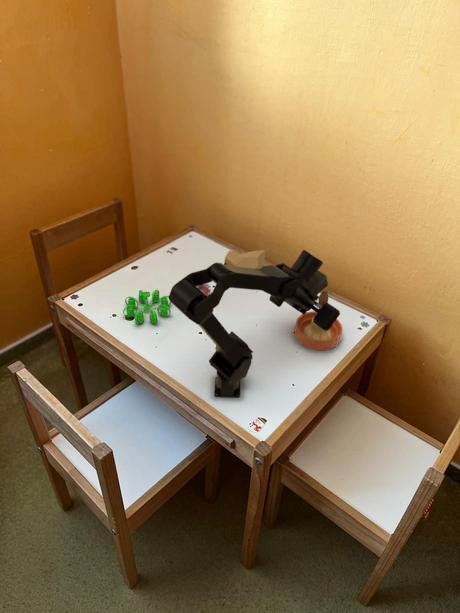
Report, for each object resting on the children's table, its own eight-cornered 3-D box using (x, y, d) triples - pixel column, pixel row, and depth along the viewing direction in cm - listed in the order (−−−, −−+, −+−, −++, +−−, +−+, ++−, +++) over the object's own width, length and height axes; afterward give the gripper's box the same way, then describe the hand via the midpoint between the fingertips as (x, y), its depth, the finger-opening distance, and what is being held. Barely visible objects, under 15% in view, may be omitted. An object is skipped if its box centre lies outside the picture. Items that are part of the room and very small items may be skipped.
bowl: (343, 352, 132) (345, 342, 129) (296, 350, 132) (298, 340, 129) (336, 321, 142) (338, 312, 140) (292, 319, 142) (294, 310, 140)
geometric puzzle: (219, 290, 149) (206, 269, 147) (207, 301, 144) (194, 279, 142) (204, 295, 154) (191, 274, 151) (192, 306, 149) (179, 285, 147)
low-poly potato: (272, 280, 158) (266, 251, 162) (268, 266, 148) (262, 235, 152) (229, 290, 160) (224, 261, 164) (222, 277, 150) (217, 246, 154)
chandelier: (159, 333, 135) (158, 315, 131) (113, 321, 139) (110, 302, 135) (180, 303, 147) (180, 285, 142) (137, 292, 150) (135, 274, 146)
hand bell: (300, 340, 134) (308, 296, 124) (305, 322, 141) (313, 279, 131) (329, 347, 133) (339, 302, 123) (333, 328, 139) (343, 285, 129)
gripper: (341, 285, 111) (362, 304, 123) (286, 251, 122) (310, 271, 135) (314, 323, 112) (337, 338, 124) (262, 286, 123) (288, 303, 136)
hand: (318, 311), depth 130 cm, fingers open, 9 cm apart
